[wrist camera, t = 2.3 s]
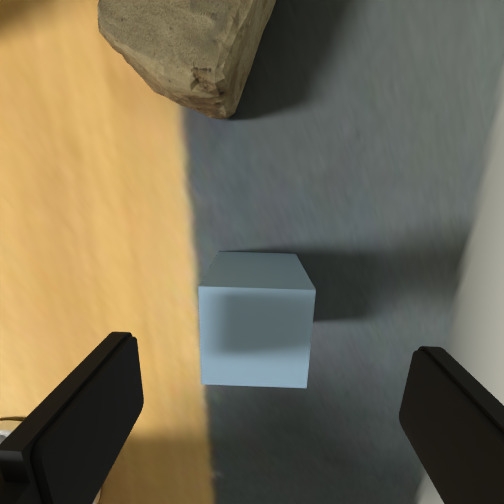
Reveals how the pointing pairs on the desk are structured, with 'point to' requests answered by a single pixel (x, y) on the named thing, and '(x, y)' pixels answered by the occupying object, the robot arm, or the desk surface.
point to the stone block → (189, 46)
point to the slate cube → (256, 320)
